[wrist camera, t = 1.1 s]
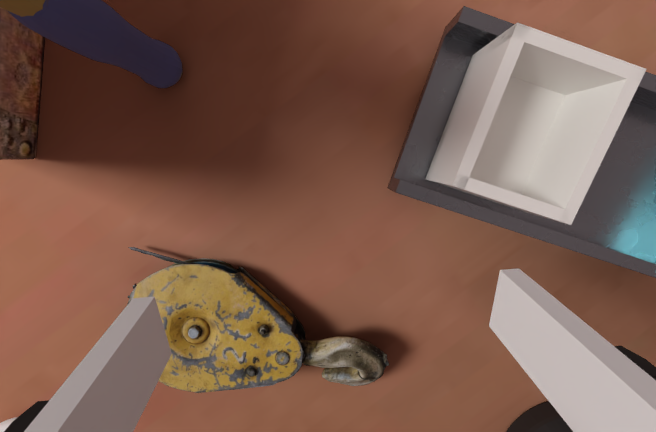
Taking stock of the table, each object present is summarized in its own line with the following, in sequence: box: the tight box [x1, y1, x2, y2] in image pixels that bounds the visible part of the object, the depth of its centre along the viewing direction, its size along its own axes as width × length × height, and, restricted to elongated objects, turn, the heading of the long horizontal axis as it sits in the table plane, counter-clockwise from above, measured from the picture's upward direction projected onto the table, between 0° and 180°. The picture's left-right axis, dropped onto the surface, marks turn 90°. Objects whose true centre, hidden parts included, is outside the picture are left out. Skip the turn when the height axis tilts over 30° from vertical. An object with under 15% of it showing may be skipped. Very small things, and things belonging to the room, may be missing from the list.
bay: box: [388, 6, 656, 278], centre depth 28 cm, size 30×16×6 cm, turn 72°
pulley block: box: [128, 247, 389, 393], centre depth 33 cm, size 14×6×30 cm
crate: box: [425, 23, 646, 225], centre depth 26 cm, size 10×12×7 cm
